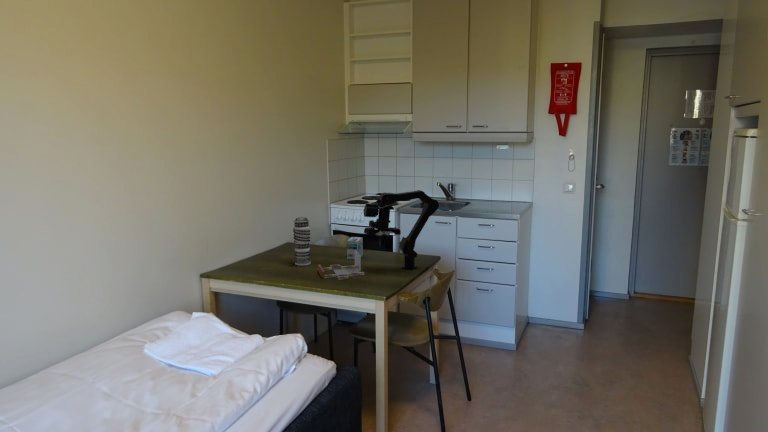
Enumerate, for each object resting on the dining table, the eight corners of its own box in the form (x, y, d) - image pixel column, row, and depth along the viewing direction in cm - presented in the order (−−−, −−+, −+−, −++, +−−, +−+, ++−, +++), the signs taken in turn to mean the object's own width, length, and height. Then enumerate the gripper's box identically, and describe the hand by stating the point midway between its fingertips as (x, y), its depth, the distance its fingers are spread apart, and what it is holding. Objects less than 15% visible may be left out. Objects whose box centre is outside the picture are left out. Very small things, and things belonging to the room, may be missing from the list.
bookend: (356, 269, 270) (356, 250, 268) (360, 274, 261) (360, 255, 259) (333, 271, 266) (333, 252, 265) (337, 276, 257) (336, 256, 256)
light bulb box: (358, 260, 288) (358, 241, 287) (346, 259, 290) (346, 240, 288) (363, 255, 299) (362, 236, 297) (351, 254, 300) (351, 236, 298)
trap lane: (356, 265, 276) (356, 259, 276) (366, 277, 255) (366, 270, 254) (316, 268, 270) (316, 262, 270) (324, 281, 249) (324, 274, 248)
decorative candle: (290, 264, 279) (289, 218, 275) (301, 260, 288) (299, 215, 283) (304, 266, 275) (303, 219, 271) (314, 262, 283) (313, 217, 279)
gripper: (391, 215, 276) (388, 244, 278) (360, 214, 266) (357, 244, 269) (402, 218, 266) (399, 248, 269) (370, 218, 257) (367, 249, 259)
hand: (381, 247), depth 266 cm, fingers closed
